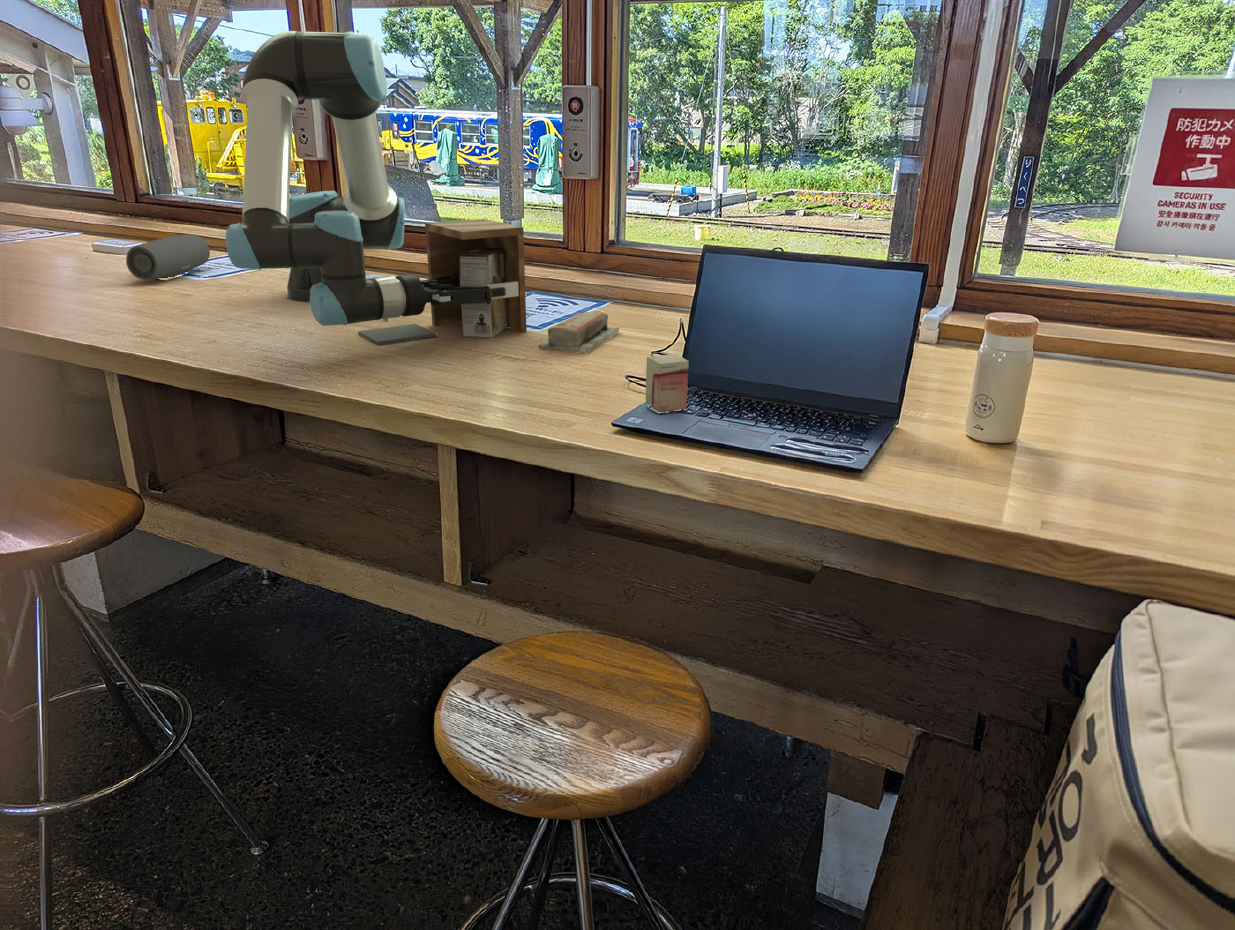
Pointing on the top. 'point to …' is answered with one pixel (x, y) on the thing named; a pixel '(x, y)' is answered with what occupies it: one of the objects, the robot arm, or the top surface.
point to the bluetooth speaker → (167, 256)
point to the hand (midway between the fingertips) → (503, 284)
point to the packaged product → (580, 333)
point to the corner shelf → (468, 234)
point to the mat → (396, 334)
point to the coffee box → (478, 272)
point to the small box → (667, 382)
